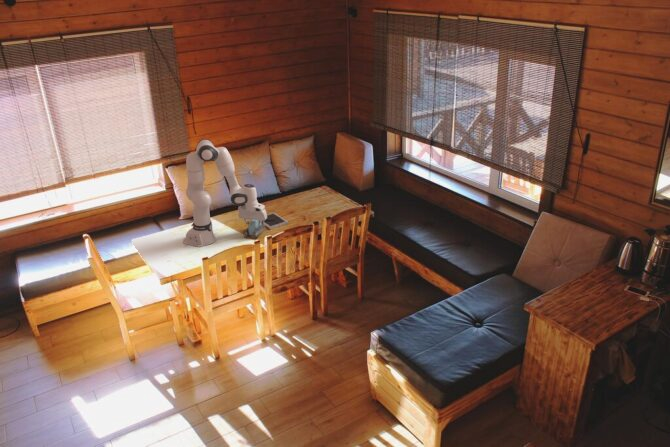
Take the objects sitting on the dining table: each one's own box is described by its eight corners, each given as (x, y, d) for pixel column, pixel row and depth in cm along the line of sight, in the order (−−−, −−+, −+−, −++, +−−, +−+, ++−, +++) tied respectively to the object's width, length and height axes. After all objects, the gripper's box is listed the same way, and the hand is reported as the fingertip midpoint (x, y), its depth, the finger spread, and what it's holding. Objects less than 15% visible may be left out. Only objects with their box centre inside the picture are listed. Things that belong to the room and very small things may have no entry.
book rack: (243, 237, 402) (241, 220, 396) (252, 228, 415) (250, 211, 409) (257, 239, 400) (255, 221, 394) (265, 229, 413) (263, 212, 407)
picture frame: (256, 220, 428) (269, 230, 413) (255, 217, 427) (269, 226, 411) (274, 214, 436) (288, 224, 420) (274, 211, 435) (288, 220, 419)
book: (249, 234, 403) (247, 224, 399) (255, 227, 412) (254, 217, 409) (253, 235, 402) (252, 225, 398) (259, 228, 411) (258, 218, 408)
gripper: (235, 207, 398) (238, 225, 404) (263, 209, 393) (265, 227, 399) (239, 203, 404) (242, 221, 410) (266, 205, 398) (268, 223, 404)
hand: (253, 224), depth 404 cm, fingers open, 8 cm apart
